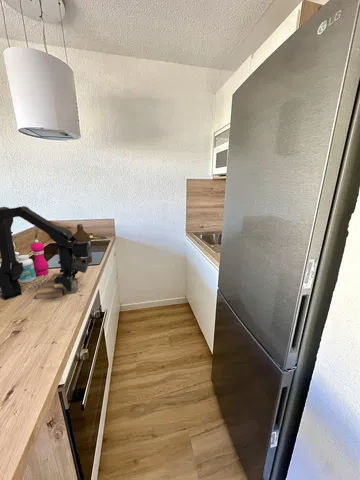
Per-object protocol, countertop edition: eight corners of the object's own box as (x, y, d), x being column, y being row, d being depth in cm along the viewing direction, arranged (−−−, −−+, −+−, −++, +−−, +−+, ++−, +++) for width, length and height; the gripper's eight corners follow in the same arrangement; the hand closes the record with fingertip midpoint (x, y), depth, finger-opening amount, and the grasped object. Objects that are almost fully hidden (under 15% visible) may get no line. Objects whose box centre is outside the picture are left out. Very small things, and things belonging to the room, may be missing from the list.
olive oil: (72, 262, 136) (67, 224, 129) (89, 258, 143) (84, 222, 136) (79, 266, 128) (73, 226, 122) (95, 262, 136) (91, 224, 129)
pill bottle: (16, 284, 105) (10, 259, 102) (22, 278, 112) (17, 254, 109) (33, 282, 107) (28, 257, 104) (38, 276, 114) (34, 253, 111)
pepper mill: (52, 271, 121) (47, 238, 116) (43, 276, 114) (37, 241, 109) (41, 271, 122) (35, 237, 116) (31, 276, 115) (24, 241, 109)
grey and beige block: (76, 293, 97) (74, 281, 95) (55, 295, 95) (53, 283, 93) (78, 289, 100) (76, 277, 99) (58, 291, 99) (56, 279, 97)
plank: (61, 296, 94) (60, 291, 93) (36, 299, 92) (35, 293, 91) (74, 275, 116) (74, 271, 115) (55, 277, 114) (54, 272, 113)
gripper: (80, 263, 87) (85, 297, 91) (89, 250, 104) (93, 278, 108) (51, 265, 84) (56, 300, 88) (65, 251, 102) (69, 280, 106)
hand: (71, 288), depth 98 cm, fingers closed on grey and beige block, 4 cm apart
